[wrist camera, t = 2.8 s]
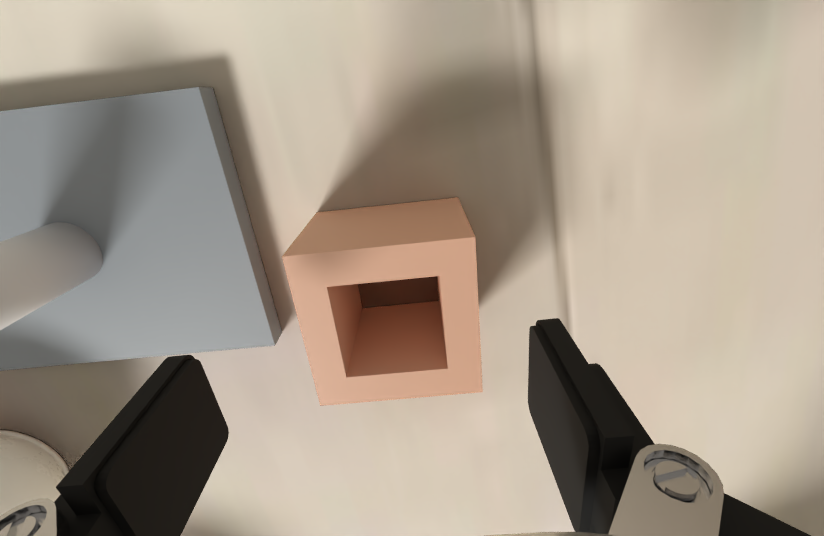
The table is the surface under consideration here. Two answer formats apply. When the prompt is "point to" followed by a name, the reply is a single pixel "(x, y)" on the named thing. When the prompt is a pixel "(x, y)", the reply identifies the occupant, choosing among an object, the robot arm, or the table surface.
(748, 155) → the table surface
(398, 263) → the collar
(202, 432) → the robot arm
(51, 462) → the lidded jar
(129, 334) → the board
